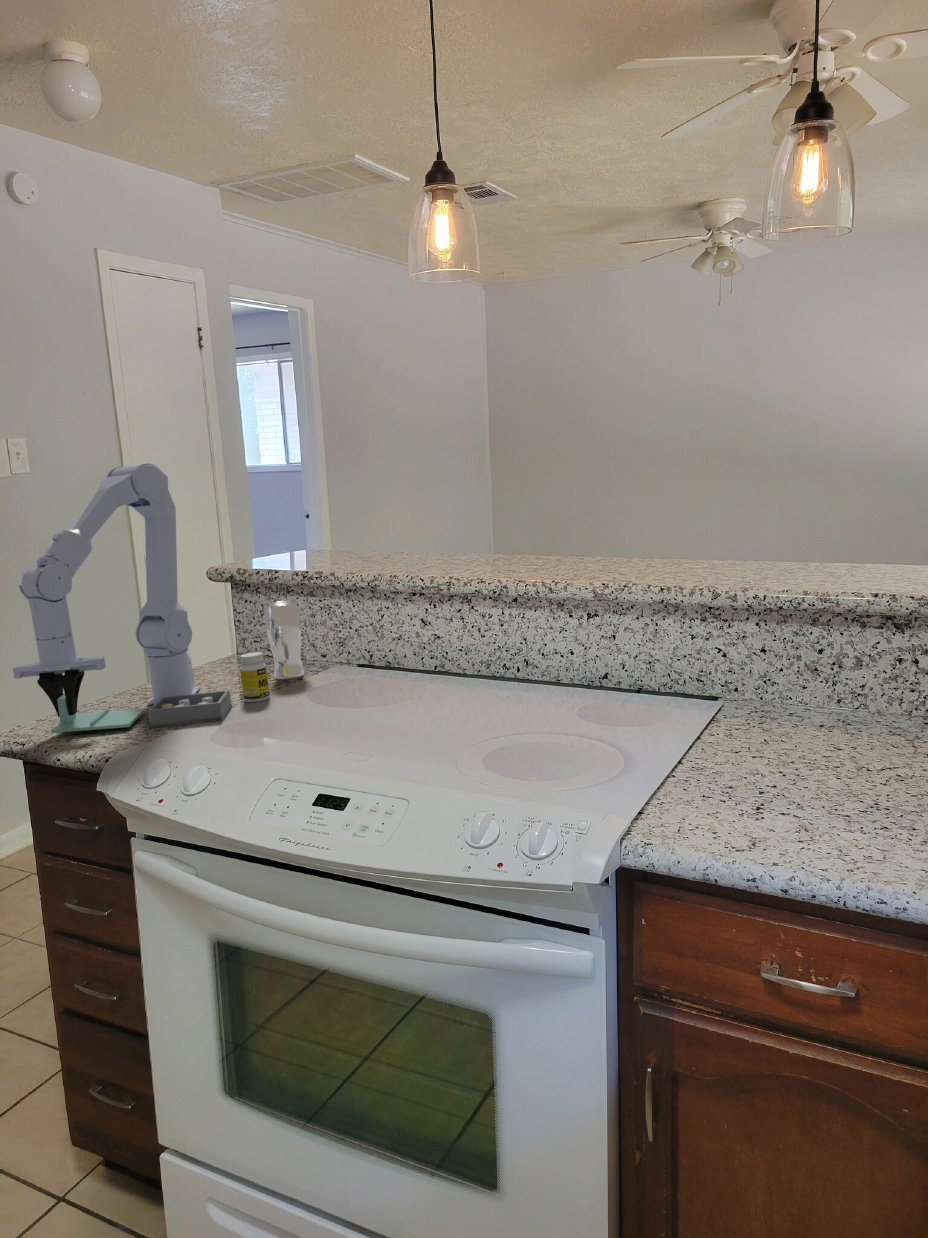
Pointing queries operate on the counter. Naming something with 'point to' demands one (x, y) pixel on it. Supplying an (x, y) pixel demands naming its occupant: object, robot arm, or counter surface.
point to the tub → (189, 709)
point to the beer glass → (284, 638)
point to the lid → (94, 719)
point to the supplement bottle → (254, 677)
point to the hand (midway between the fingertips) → (67, 714)
